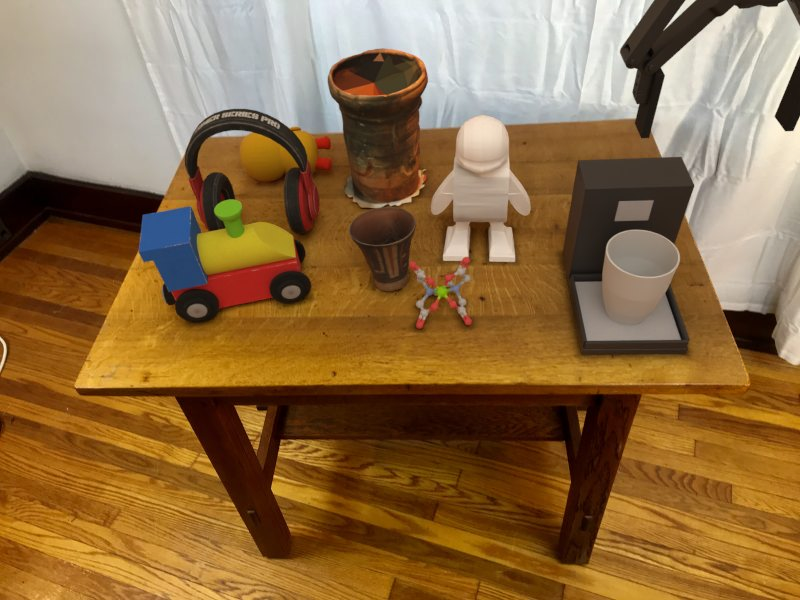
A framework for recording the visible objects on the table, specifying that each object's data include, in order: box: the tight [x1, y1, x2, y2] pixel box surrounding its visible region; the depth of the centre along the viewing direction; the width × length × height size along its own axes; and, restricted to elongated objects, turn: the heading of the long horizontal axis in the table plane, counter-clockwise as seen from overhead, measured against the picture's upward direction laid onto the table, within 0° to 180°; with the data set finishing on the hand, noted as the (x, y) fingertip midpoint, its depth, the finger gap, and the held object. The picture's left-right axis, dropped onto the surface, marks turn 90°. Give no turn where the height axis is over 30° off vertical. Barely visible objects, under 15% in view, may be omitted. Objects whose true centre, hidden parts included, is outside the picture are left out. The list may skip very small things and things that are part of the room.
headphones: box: [184, 108, 321, 235], centre depth 89 cm, size 18×10×20 cm, turn 90°
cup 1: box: [348, 206, 417, 292], centre depth 84 cm, size 9×9×10 cm
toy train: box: [138, 199, 312, 323], centre depth 82 cm, size 9×20×15 cm, turn 102°
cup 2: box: [602, 230, 681, 325], centre depth 75 cm, size 8×8×10 cm
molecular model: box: [408, 257, 473, 330], centre depth 80 cm, size 7×8×8 cm
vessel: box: [327, 48, 429, 209], centre depth 95 cm, size 14×14×20 cm
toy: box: [239, 126, 333, 183], centre depth 103 cm, size 9×9×15 cm
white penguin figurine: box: [430, 114, 532, 263], centre depth 84 cm, size 14×9×20 cm, turn 84°
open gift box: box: [561, 156, 695, 356], centre depth 76 cm, size 18×12×16 cm
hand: (712, 127), depth 61 cm, fingers open, 13 cm apart
